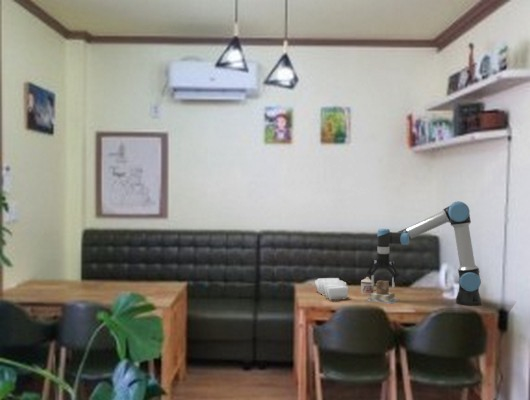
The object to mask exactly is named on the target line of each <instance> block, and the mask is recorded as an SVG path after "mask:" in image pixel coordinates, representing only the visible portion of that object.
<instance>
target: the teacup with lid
mask: <svg viewBox="0 0 530 400" xmlns="http://www.w3.org/2000/svg"><path fill="white" fill-rule="evenodd" d="M375 286H377V283H374V285H373V286H371V280H370V276H366V277H365V278H364V279H361V281H360V294H361V295H365V296H370V294H372V293H374V292H376V291H377V288H376V289H375Z"/></svg>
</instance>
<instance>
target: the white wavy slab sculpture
mask: <svg viewBox="0 0 530 400" xmlns="http://www.w3.org/2000/svg"><path fill="white" fill-rule="evenodd" d="M314 283H315V287H316V289H317V292H318V293H319V292H320V293H323V294H326V296H325V298H326V297H328V298H329V299H343V298H346V299H348V296H349V285H347V282H346V281H343V280H340V278H339V277H326V278H324V277H323V278H317V279H316V280H314ZM329 299H328V300H329ZM343 300H344V299H343Z"/></svg>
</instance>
